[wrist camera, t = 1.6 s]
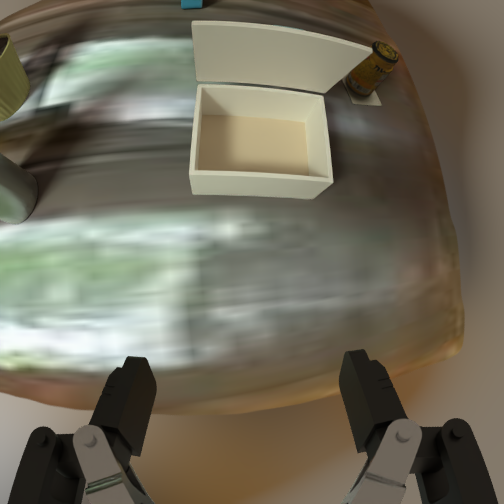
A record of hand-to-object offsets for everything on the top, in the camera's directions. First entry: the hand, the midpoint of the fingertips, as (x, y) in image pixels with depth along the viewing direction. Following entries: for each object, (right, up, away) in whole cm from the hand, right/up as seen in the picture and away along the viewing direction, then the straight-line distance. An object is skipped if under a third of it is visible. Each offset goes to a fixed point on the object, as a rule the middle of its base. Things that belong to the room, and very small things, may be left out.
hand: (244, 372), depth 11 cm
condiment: (+22, +37, +37) cm, 57 cm away
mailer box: (+1, +20, +32) cm, 38 cm away
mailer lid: (+3, +27, +17) cm, 32 cm away
